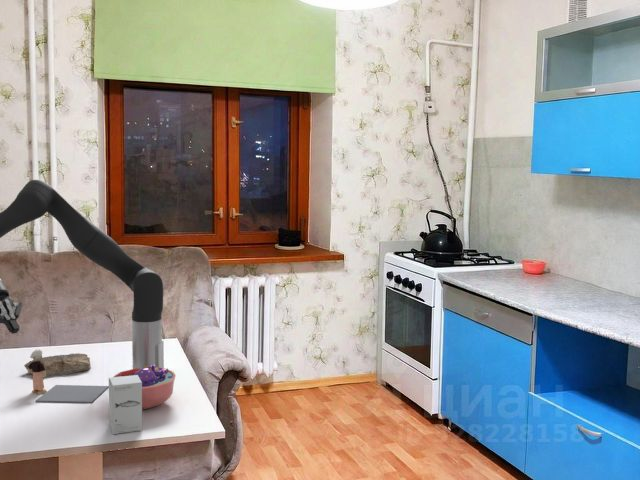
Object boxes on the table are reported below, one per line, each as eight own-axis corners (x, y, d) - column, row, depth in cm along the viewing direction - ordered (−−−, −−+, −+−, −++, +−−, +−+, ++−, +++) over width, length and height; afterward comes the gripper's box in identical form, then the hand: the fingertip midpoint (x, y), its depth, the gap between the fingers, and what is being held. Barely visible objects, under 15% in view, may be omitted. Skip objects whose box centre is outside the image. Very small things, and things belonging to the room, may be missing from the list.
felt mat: (108, 387, 201) (108, 386, 201) (92, 403, 187) (91, 401, 187) (56, 386, 202) (56, 384, 202) (35, 401, 188) (35, 400, 188)
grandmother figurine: (53, 391, 197) (52, 349, 196) (44, 395, 193) (42, 352, 192) (32, 388, 199) (31, 346, 198) (22, 392, 196) (21, 349, 195)
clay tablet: (27, 381, 207) (94, 371, 217) (26, 365, 207) (93, 356, 217) (22, 370, 220) (86, 361, 229) (21, 355, 219) (85, 347, 229)
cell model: (177, 392, 198) (176, 354, 197) (174, 416, 178) (174, 374, 177) (117, 394, 195) (117, 356, 194) (108, 419, 175) (107, 377, 174)
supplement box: (112, 435, 165) (111, 385, 164) (108, 425, 172) (108, 376, 170) (143, 431, 168) (142, 382, 167) (138, 421, 175) (137, 373, 173)
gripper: (4, 291, 212) (30, 335, 207) (-36, 297, 201) (-11, 343, 195) (14, 276, 209) (40, 320, 203) (-26, 281, 197) (0, 328, 192)
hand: (15, 331), depth 199 cm, fingers closed
